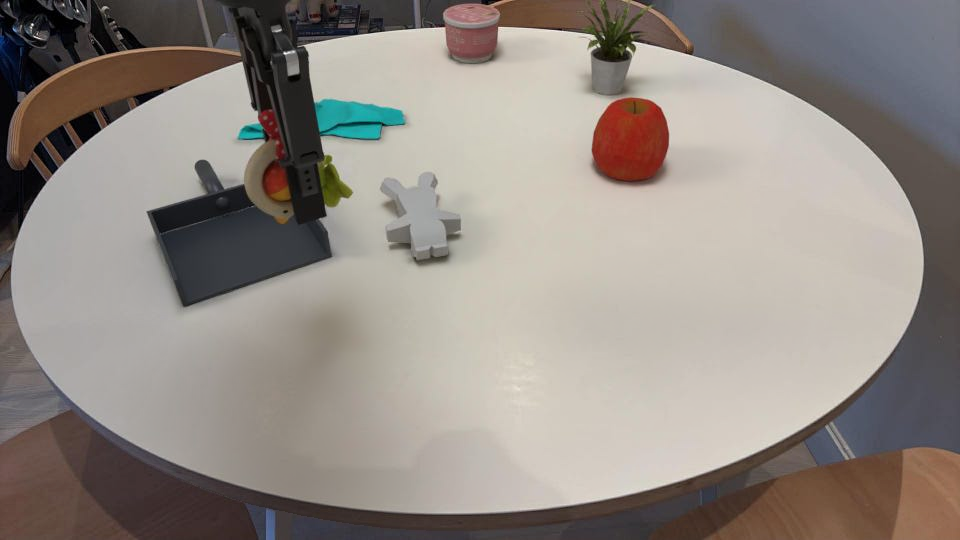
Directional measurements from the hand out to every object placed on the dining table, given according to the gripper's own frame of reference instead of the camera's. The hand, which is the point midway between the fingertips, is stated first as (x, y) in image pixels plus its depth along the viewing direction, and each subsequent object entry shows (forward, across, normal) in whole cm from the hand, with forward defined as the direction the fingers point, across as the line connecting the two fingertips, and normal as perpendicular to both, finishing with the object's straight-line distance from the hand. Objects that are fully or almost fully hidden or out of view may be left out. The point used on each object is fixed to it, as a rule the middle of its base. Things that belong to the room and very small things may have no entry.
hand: (300, 201), depth 66 cm
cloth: (+17, +46, -16) cm, 51 cm away
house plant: (+17, +34, -63) cm, 73 cm away
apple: (+17, +10, -50) cm, 54 cm away
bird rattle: (+1, -1, 0) cm, 1 cm away
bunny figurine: (+17, +12, -17) cm, 27 cm away
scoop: (+17, +25, +4) cm, 31 cm away
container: (+17, +57, -50) cm, 78 cm away
